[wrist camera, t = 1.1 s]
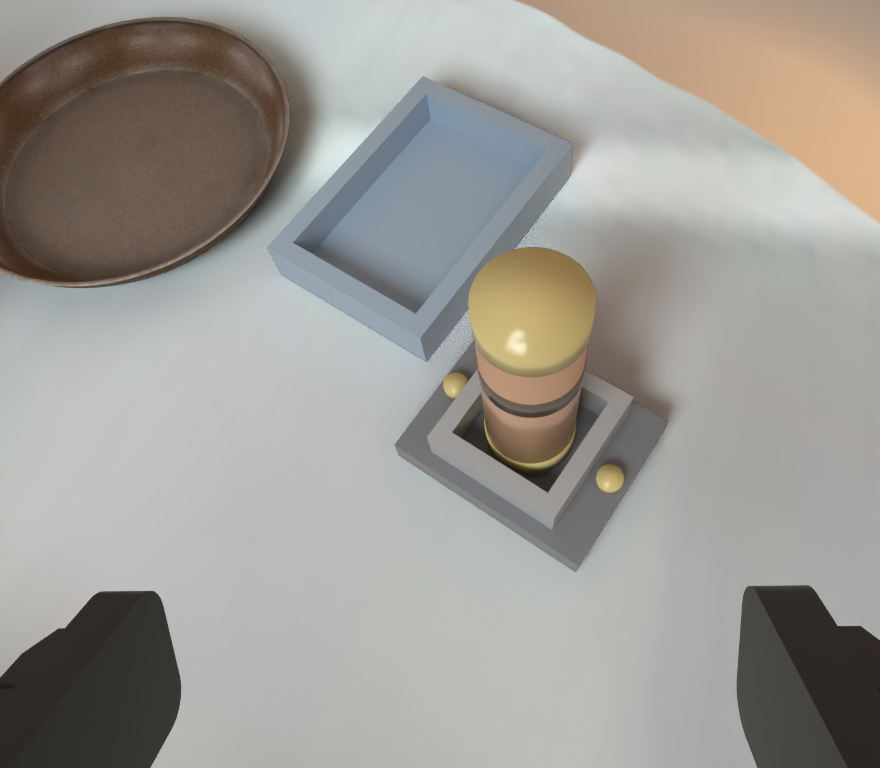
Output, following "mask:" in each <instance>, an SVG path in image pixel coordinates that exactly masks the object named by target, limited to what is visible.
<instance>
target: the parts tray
mask: <svg viewBox="0 0 880 768" xmlns="http://www.w3.org/2000/svg"><path fill="white" fill-rule="evenodd" d="M572 153H573V143H571V142H569V141H566V140H564V139H562V138H560V137H558V136H555V135H553V134H551V133H549V132H546V131H544V130H542V129H540V128H537V127H535V126H533V125H531V124H528V123H526V122H524V121H522V120H520V119H517V118H515V117H513V116H511V115H508V114H506V113H504V112H502V111H499V110H497V109H495V108H493V107H490V106H488V105H486V104H484V103H482V102H479V101H477V100H475V99H473V98H470V97H468V96H466V95H464V94H461V93H459V92H457V91H455V90H452V89H450V88H448V87H446V86H444V85H441V84H439V83H437V82H435V81H432V80H430V79H428V78H426V77H422V78H421V79H420V80H419V81H418V82H417V83H416V84H415V86H414V87H413V88H412V89H411V90H410V91H409V92H408V93H407V94H406V95H405V96H404V98H403V99H402V100H401V101H400V102H399V103H398V104H397V105H396V106H395V107H394V109H393V110H392V111H391V112H390V113H389V114H388V115H387V116H386V117H385V118H384V120H383V121H382V122H381V123H380V124H379V125H378V126H377V127H376V128H375V129H374V131H373V132H372V133H371V134H370V135H369V136H368V137H367V138H366V139H365V140H364V142H363V143H362V144H361V145H360V146H359V147H358V148H357V149H356V150H355V151H354V153H353V154H352V155H351V156H350V157H349V158H348V159H347V160H346V161H345V162H344V164H343V165H342V166H341V167H340V168H339V169H338V170H337V171H336V172H335V173H334V175H333V176H332V177H331V178H330V179H329V180H328V181H327V182H326V183H325V184H324V186H323V187H322V188H321V189H320V190H319V191H318V192H317V193H316V194H315V195H314V197H313V198H312V199H311V200H310V201H309V202H308V203H307V204H306V205H305V206H304V208H303V209H302V210H301V211H300V212H299V213H298V214H297V215H296V216H295V217H294V218H293V220H292V221H291V222H290V223H289V224H288V225H287V226H286V227H285V228H284V229H283V231H282V232H281V233H280V234H279V235H278V236H277V237H276V238H275V239H274V240H273V242H272V243H271V244H270V245H269V246H268V247H267V249H268V251H269V253H270V255H271V257H272V258H273V260H274V262H275V264H276V266H277V268H278V270H279V271H280V273H281V275H283V276H284V277H286V278H288V279H289V280H291V281H293V282H294V283H296V284H298V285H299V286H301V287H303V288H304V289H306V290H307V291H309V292H311V293H312V294H314V295H316V296H317V297H319V298H321V299H322V300H324V301H326V302H327V303H329V304H331V305H332V306H334V307H336V308H337V309H339V310H341V311H342V312H344V313H346V314H347V315H349V316H351V317H352V318H354V319H356V320H357V321H359V322H361V323H362V324H364V325H366V326H367V327H369V328H371V329H372V330H374V331H376V332H377V333H379V334H381V335H382V336H384V337H386V338H387V339H389V340H391V341H392V342H394V343H396V344H397V345H399V346H401V347H402V348H404V349H406V350H407V351H409V352H411V353H412V354H414V355H416V356H417V357H419V358H421V359H422V360H424V361H426V362H427V361H428V359H429V358H430V357H431V356H432V354H433V353H434V352H435V350H436V349H437V348H438V346H439V345H440V344H441V343H442V341H443V340H444V339H445V337H446V336H447V335H448V334H449V332H450V331H451V330H452V328H453V327H454V326H455V325H456V323H457V322H458V321H459V319H460V318H461V317H462V315H463V314H464V313H465V312H466V310H467V309H468V308H469V307H468V297H469V292H470V288H471V285H472V283H473V281H474V279H475V277H476V276H477V274H478V273H479V271H480V270H481V269H482V268H483V267H484V266H485V265H486V264H487V263H488V262H490V261H491V260H493V259H494V258H496V257H497V256H499V255H501V254H503V253H506V252H508V251H511V250H514V248H515V247H516V246H517V244H518V243H519V242H520V241H521V239H522V238H523V237H524V235H525V234H526V233H527V231H528V230H529V229H530V228H531V226H532V225H533V224H534V222H535V221H536V220H537V219H538V217H539V216H540V215H541V213H542V212H543V211H544V210H545V208H546V207H547V206H548V204H549V203H550V202H551V200H552V199H553V198H554V197H555V195H556V194H557V193H558V191H559V190H560V189H561V188H562V186H563V185H564V184H565V182H566V181H567V180H568V179H569V177H570V176H571V166H572Z"/></svg>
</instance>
